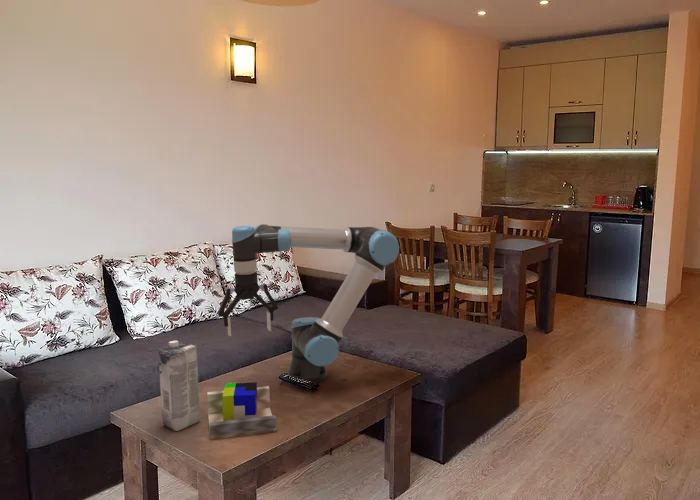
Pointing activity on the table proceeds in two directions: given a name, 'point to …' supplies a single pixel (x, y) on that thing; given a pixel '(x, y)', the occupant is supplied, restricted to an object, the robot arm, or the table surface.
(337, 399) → the table surface
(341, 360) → the table surface
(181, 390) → the juice carton
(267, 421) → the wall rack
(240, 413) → the puzzle toy
